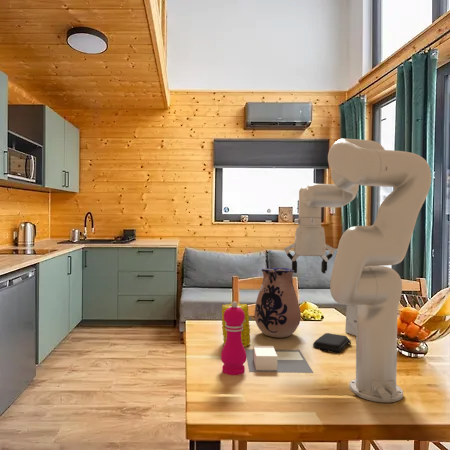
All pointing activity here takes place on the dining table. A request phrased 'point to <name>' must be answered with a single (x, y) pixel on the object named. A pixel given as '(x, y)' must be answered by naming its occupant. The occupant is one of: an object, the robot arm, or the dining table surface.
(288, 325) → the ceramic pitcher
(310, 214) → the robot arm
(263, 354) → the box
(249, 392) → the dining table surface
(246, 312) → the food
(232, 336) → the pepper mill
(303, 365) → the mat
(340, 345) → the carrying case or bag
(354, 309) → the skincare box
